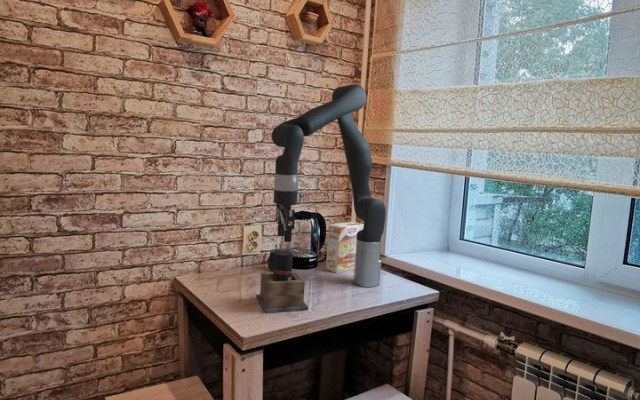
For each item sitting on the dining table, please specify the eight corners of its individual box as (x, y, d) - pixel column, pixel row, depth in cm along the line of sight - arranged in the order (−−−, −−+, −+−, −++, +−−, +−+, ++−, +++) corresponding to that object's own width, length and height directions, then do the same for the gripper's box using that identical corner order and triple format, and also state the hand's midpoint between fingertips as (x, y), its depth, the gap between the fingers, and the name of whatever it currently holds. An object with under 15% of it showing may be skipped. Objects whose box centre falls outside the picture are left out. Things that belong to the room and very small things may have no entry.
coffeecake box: (336, 273, 178) (339, 227, 176) (325, 269, 183) (327, 224, 181) (361, 268, 188) (364, 223, 186) (349, 264, 193) (352, 221, 191)
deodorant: (287, 301, 138) (289, 256, 137) (270, 299, 140) (271, 254, 138) (292, 295, 144) (294, 251, 142) (275, 293, 145) (277, 249, 143)
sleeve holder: (295, 294, 151) (297, 269, 150) (307, 310, 138) (309, 282, 137) (256, 297, 146) (256, 271, 145) (264, 313, 133) (265, 285, 132)
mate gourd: (270, 273, 174) (271, 248, 173) (265, 267, 181) (265, 244, 180) (287, 271, 177) (288, 247, 176) (281, 266, 184) (282, 243, 183)
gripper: (303, 191, 131) (301, 243, 134) (291, 186, 145) (289, 233, 147) (279, 191, 129) (278, 244, 131) (269, 186, 142) (267, 234, 144)
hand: (284, 238), depth 139 cm, fingers open, 8 cm apart
